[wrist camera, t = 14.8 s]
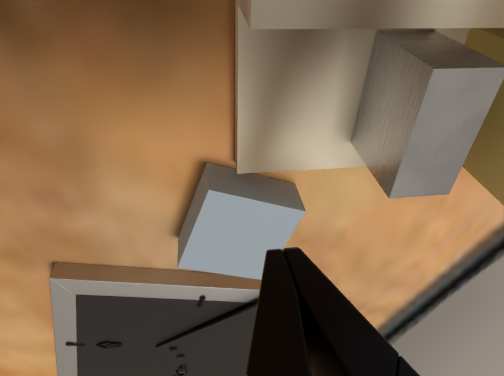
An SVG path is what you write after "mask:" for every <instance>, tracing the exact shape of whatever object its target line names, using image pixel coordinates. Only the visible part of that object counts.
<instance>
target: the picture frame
mask: <svg viewBox="0 0 504 376" xmlns="http://www.w3.org/2000/svg"><path fill="white" fill-rule="evenodd" d="M49 279H50V291H51V303H52V315H53V326H54V338H55V350H56V361H57V373H58V376H246V369H247V363H248V357H249V351H250V345H251V339H252V333H253V327H254V321H255V315H256V309H257V303H258V297H259V291H260V285H261V280H259V279H252V278H245V277H238V276H231V275H224V274H217V273H210V272H197V271H182V270H167V269H152V268H136V267H121V266H106V265H91V264H76V263H61V262H55V264H54V267H53V270H52V272H51V275H50V277H49Z"/></svg>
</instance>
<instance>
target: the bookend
mask: <svg viewBox="0 0 504 376" xmlns="http://www.w3.org/2000/svg"><path fill="white" fill-rule="evenodd" d="M503 79H504V65H503V64H501V63H499V62H497V61H495V60H493V59H491V58H489V57H487V56H485V55H483V54H481V53H479V52H477V51H475V50H473V49H471V48H469V47H467V46H465V45H463V44H461V43H459V42H457V41H455V40H453V39H451V38H449V37H447V36H445V35H443V34H441V33H439V32H437V31H376V35H375V39H374V43H373V48H372V52H371V56H370V61H369V65H368V69H367V74H366V78H365V82H364V86H363V91H362V95H361V99H360V104H359V108H358V112H357V117H356V121H355V125H354V130H353V134H352V138H351V144H352V145H353V147H354V148H355V150H356V151H357V153H358V154H359V156H360V157H361V159H362V160H363V161H364V163H365V164H366V166H367V167H368V169H369V170H370V172H371V173H372V174H373V176H374V177H375V179H376V180H377V182H378V183H379V185H380V186H381V188H382V189H383V190H384V192H385V193H386V195H387V196H388V198H401V197H416V196H430V195H445V194H449V193H450V191H451V189H452V187H453V184H454V182H455V180H456V178H457V176H458V174H459V172H460V170H461V168H462V165H463V163H464V161H465V159H466V157H467V155H468V153H469V151H470V149H471V147H472V144H473V142H474V140H475V138H476V136H477V134H478V132H479V130H480V128H481V125H482V123H483V121H484V119H485V117H486V115H487V113H488V111H489V109H490V106H491V104H492V102H493V100H494V98H495V96H496V94H497V92H498V90H499V88H500V85H501V83H502V81H503Z"/></svg>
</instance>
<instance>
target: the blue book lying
mask: <svg viewBox="0 0 504 376" xmlns="http://www.w3.org/2000/svg"><path fill="white" fill-rule="evenodd" d="M305 212H306V211H305V208H304V205H303V203H302V200H301V198H300V195H299V193H298V190H297V187H296V185H295V184H293V183H289V182H285V181H281V180H277V179H273V178H269V177H265V176H261V175H257V174H253V173H244V174H237V170H236V169H232V168H228V167H224V166H220V165H216V164H212V163H208V162H207V163H206V166H205V168H204V171H203V174H202V176H201V179H200V181H199V184H198V187H197V189H196V192H195V195H194V197H193V200H192V203H191V205H190V208H189V210H188V213H187V216H186V218H185V221H184V224H183V226H182V229H181V232H180V234H179V237H178V264H177V268H183V269H189V270H196V271H203V272H210V273H217V274H224V275H231V276H238V277H245V278H252V279H259V280H261V279H262V273H263V267H264V261H265V255H266V251H267V250H269V249H283V248H284V246H285V244H286V243H287V241H288V239H289V238H290V236H291V235H292V233H293V231H294V230H295V228H296V227H297V225H298V223H299V222H300V220H301V218H302V217H303V215H304V214H305Z"/></svg>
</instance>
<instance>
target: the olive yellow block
mask: <svg viewBox="0 0 504 376" xmlns="http://www.w3.org/2000/svg"><path fill="white" fill-rule="evenodd" d="M464 45H465V46H467V47H469V48H471V49H473V50H475V51H477V52H479V53H481V54H483V55H485V56H487V57H489V58H491V59H493V60H495V61H497V62H499V63H501V64H503V65H504V28H471V29H470V31H469V34H468V37H467V39H466V42H465V44H464ZM462 166H463V167H464V168H465V169H466V170H467V171H468V172H469V173H470V174H471V175H472V176H473V177H474V178H475V179H476V180H477V181H478V182H479V183H481V184H482V185H483V186H484V187H485V188H486V189H487V190H488V191H489V192H490V193H491V194H492V195H493V196H494V197H495V198H496V199H497V200H499V201H500V202H501V203H502V204H503V205H504V79H503V81H502V83H501V85H500V88H499V90H498V92H497V94H496V96H495V98H494V100H493V102H492V104H491V106H490V109H489V111H488V113H487V115H486V117H485V119H484V121H483V123H482V125H481V128H480V130H479V132H478V134H477V136H476V138H475V140H474V142H473V144H472V147H471V149H470V151H469V153H468V155H467V157H466V159H465V161H464V163H463V165H462Z"/></svg>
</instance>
